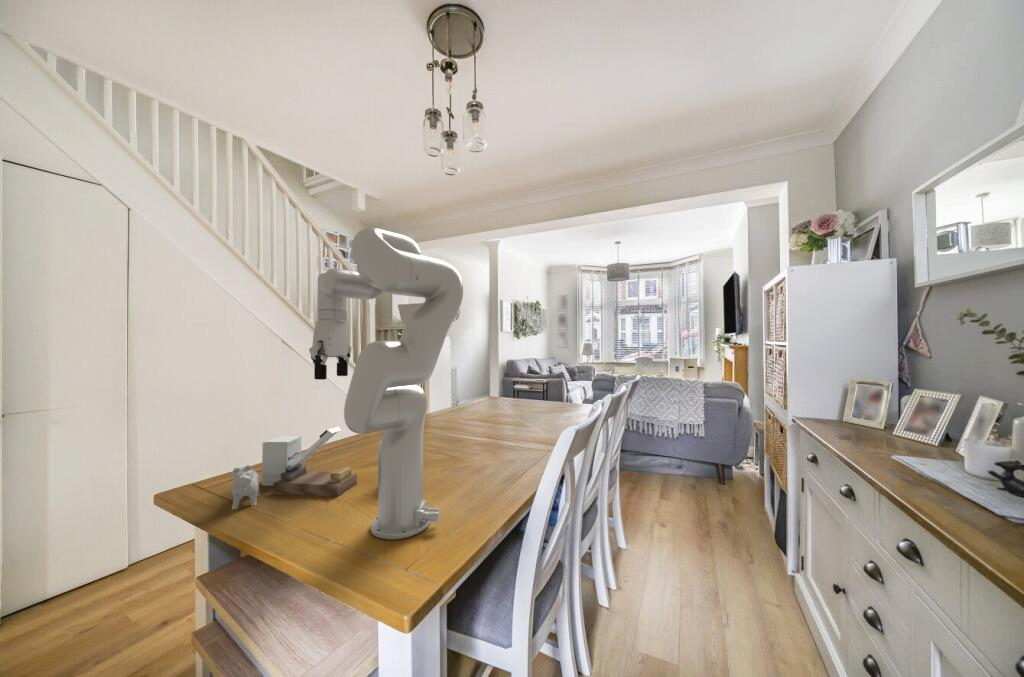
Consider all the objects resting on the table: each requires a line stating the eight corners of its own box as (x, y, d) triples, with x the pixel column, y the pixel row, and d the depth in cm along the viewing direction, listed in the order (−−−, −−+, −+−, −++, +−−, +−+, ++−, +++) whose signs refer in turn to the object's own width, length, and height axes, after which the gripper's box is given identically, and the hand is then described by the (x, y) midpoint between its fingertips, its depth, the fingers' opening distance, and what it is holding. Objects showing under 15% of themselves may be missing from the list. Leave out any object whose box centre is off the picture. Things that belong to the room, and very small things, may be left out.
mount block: (356, 483, 104) (356, 465, 104) (337, 496, 95) (337, 476, 95) (297, 481, 106) (297, 462, 107) (273, 493, 98) (273, 473, 98)
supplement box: (286, 486, 103) (286, 442, 103) (261, 486, 103) (261, 442, 103) (302, 476, 110) (302, 435, 110) (278, 476, 110) (278, 435, 111)
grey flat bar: (341, 430, 103) (337, 425, 103) (331, 434, 98) (327, 428, 98) (299, 467, 104) (295, 462, 104) (287, 473, 99) (283, 467, 100)
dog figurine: (228, 516, 85) (228, 471, 85) (236, 497, 95) (236, 457, 96) (255, 511, 87) (256, 467, 87) (260, 492, 98) (260, 453, 98)
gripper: (338, 319, 111) (338, 374, 110) (298, 315, 93) (297, 380, 93) (361, 319, 110) (360, 375, 109) (324, 314, 92) (324, 381, 92)
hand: (331, 377), depth 101 cm, fingers open, 9 cm apart
